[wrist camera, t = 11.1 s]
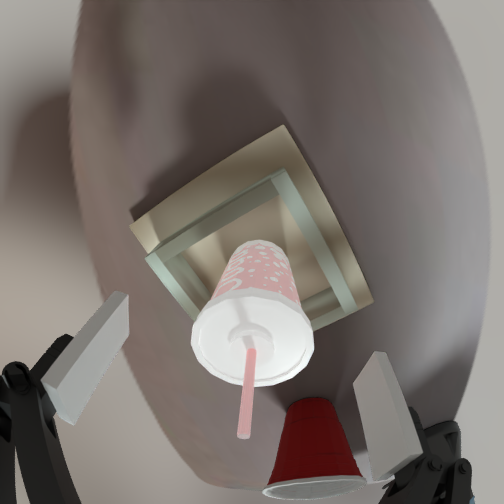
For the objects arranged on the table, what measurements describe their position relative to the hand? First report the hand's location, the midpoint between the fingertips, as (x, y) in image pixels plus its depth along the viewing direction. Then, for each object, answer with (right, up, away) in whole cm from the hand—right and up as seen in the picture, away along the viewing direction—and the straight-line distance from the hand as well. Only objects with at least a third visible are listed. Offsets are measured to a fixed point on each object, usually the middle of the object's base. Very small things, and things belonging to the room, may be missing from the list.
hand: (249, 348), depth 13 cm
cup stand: (0, +4, +9) cm, 10 cm away
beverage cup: (+1, +4, +8) cm, 9 cm away
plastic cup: (+7, -15, +17) cm, 24 cm away
